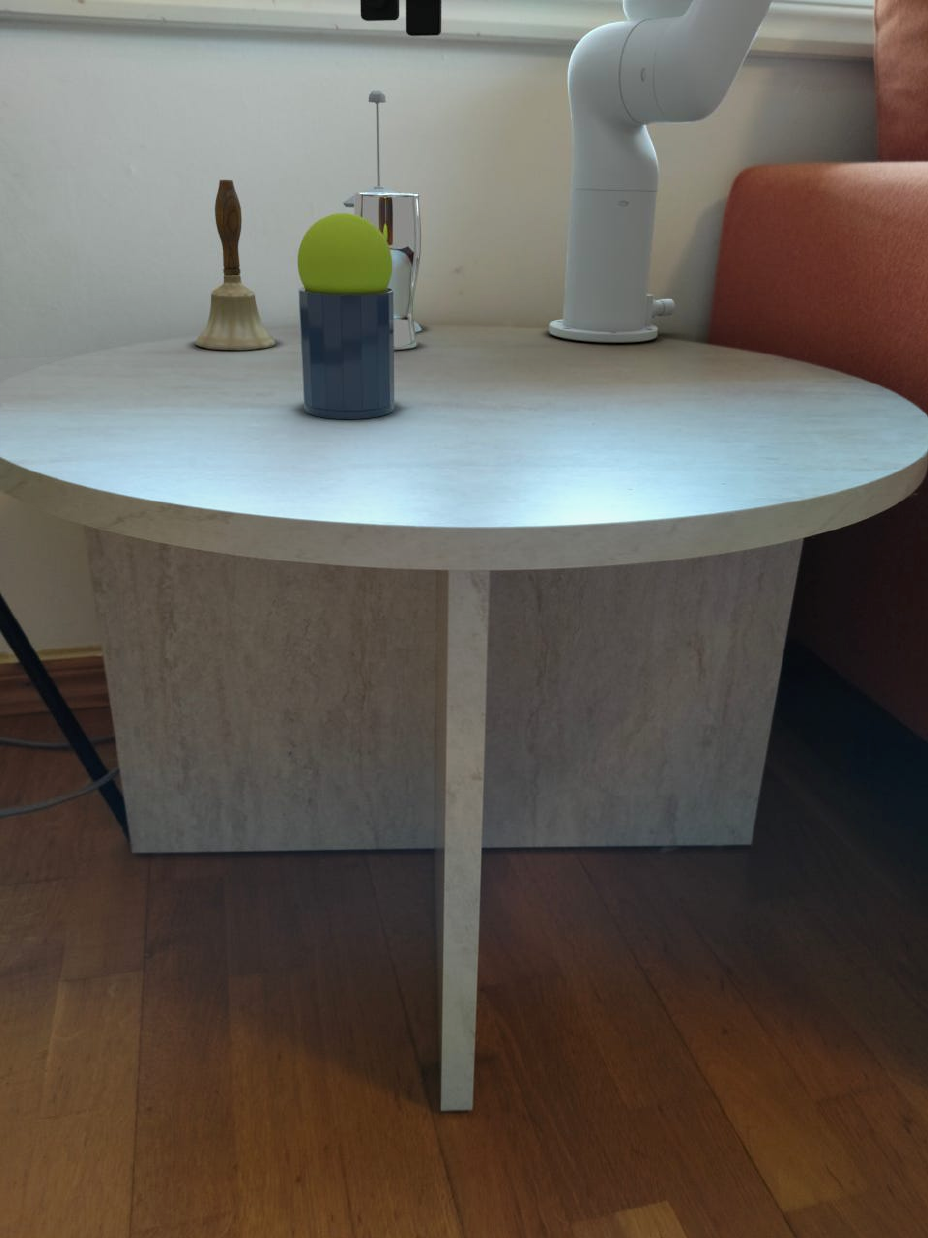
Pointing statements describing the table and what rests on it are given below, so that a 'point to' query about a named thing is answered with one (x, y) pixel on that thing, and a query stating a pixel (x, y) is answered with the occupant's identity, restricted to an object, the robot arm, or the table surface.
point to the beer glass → (397, 252)
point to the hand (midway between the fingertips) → (402, 27)
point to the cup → (347, 354)
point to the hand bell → (232, 287)
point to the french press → (377, 98)
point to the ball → (344, 256)
